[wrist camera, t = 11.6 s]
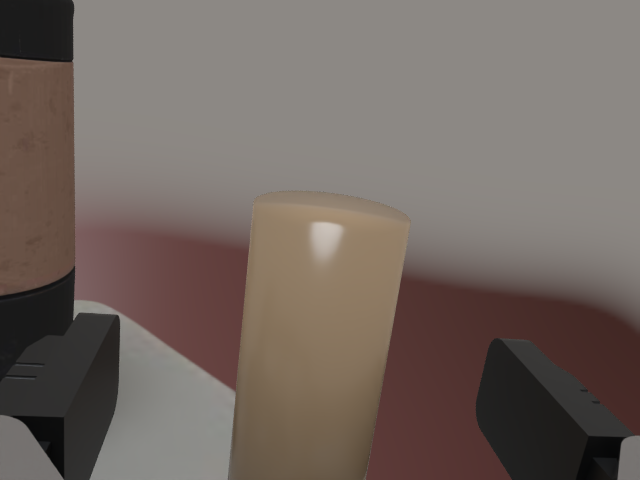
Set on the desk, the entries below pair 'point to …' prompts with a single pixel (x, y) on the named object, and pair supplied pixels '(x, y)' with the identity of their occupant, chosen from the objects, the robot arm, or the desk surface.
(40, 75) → the travel mug
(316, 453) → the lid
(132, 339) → the desk surface
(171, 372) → the desk surface
